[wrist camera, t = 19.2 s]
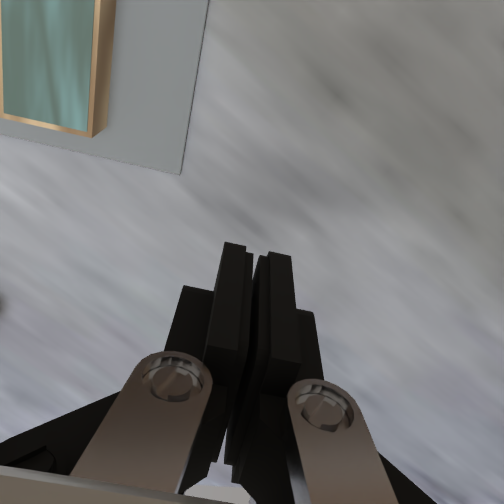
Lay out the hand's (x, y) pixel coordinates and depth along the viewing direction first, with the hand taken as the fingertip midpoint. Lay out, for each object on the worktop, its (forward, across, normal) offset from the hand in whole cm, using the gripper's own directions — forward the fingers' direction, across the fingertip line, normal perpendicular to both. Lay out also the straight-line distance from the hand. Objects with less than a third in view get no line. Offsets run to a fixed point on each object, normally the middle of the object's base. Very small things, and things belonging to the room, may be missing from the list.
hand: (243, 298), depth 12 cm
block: (+25, +11, -1) cm, 27 cm away
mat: (+27, +12, 0) cm, 30 cm away
